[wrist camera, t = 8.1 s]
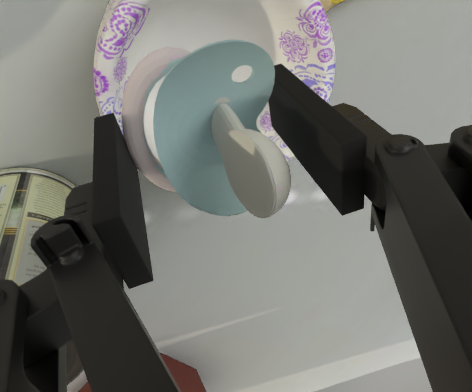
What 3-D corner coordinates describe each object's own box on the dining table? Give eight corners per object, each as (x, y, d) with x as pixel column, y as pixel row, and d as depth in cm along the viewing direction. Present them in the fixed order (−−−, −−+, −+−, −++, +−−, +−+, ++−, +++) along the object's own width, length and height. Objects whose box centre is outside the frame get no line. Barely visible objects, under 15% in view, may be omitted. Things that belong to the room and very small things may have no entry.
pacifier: (138, 198, 18) (261, 178, 19) (146, 305, 13) (310, 270, 14) (102, 34, 14) (264, 20, 15) (94, 104, 9) (338, 76, 10)
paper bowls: (59, -44, 24) (46, -28, 18) (289, -79, 26) (348, -76, 20) (129, 161, 33) (136, 218, 27) (292, 122, 35) (333, 166, 29)
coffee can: (52, 273, 38) (34, 419, 27) (-65, 230, 32) (-150, 396, 21) (116, 203, 35) (124, 334, 24) (2, 142, 29) (-56, 280, 18)
